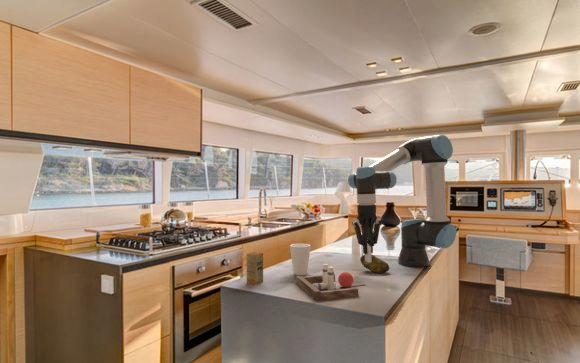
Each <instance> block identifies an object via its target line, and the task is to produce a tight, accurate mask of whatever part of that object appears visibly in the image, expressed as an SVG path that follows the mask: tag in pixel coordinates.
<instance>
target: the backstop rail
mask: <svg viewBox="0 0 580 363" xmlns="http://www.w3.org/2000/svg"><path fill="white" fill-rule="evenodd" d="M295 280H296V281H295V283H296V285H297V286H298V287H300V288H301V289H302V290H303V291H304V292H305V291H306V294H308V295H309V296H310V297H311V298H312V297H313V298H314V299H313V298H312V299H313V300H315V301H321V300H323V301H324V300H331V299H332V300H333V299H339V298H340V299H341V298H348V297H357V296H359V288H358V287H347V288H340V289H339V288H338V289H334V290H328V289H327V290H318V289H317V288H316V287H314V286H313V284H315V283H323V274H320V275H318V274H317V275H308V276H303V275H296V276H295ZM335 281H336V274H334V282H335Z"/></svg>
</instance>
